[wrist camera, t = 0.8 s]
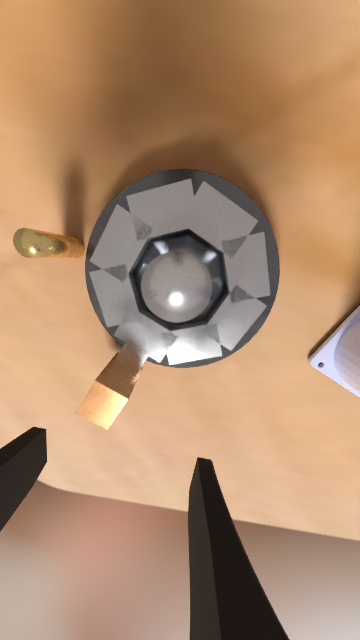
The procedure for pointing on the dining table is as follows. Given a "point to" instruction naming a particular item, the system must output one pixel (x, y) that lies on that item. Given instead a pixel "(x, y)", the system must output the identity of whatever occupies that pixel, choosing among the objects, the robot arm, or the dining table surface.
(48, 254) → the dowel pin
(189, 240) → the post base
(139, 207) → the grey handled ring
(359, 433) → the dining table surface
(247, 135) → the dining table surface
